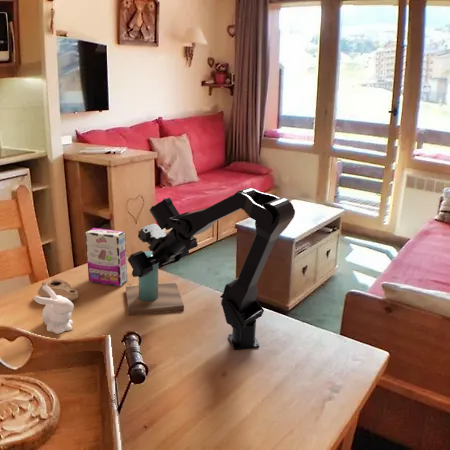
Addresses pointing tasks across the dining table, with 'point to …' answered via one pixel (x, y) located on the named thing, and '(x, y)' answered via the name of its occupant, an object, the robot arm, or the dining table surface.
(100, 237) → the candy bar box
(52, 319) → the rabbit
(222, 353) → the dining table surface
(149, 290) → the teal cup
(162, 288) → the walnut board
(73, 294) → the pottery oil lamp
